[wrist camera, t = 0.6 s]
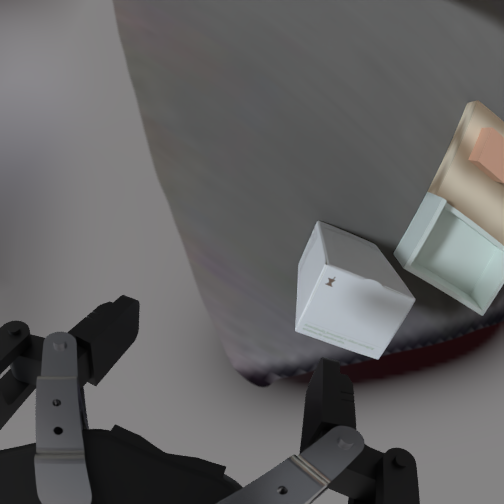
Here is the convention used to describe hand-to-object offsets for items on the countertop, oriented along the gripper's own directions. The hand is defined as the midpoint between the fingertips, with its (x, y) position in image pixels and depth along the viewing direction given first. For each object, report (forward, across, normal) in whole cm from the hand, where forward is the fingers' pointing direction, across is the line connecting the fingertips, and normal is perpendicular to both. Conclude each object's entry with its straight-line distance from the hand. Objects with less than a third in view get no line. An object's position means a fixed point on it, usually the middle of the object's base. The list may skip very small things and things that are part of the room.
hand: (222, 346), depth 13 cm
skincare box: (+27, -8, +3) cm, 28 cm away
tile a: (+24, -22, -14) cm, 35 cm away
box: (+27, -22, -2) cm, 35 cm away
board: (+27, -24, -12) cm, 38 cm away
